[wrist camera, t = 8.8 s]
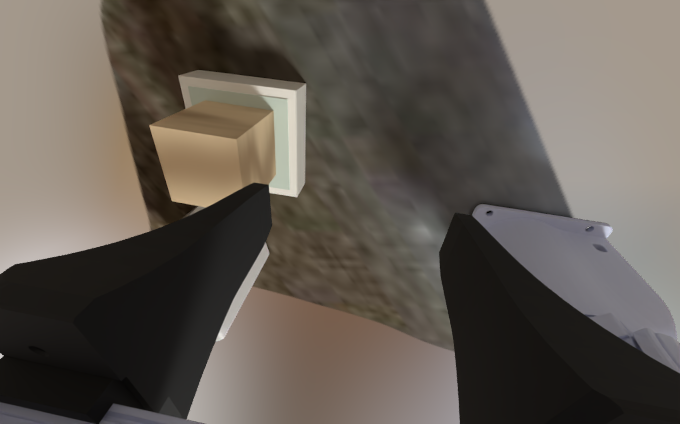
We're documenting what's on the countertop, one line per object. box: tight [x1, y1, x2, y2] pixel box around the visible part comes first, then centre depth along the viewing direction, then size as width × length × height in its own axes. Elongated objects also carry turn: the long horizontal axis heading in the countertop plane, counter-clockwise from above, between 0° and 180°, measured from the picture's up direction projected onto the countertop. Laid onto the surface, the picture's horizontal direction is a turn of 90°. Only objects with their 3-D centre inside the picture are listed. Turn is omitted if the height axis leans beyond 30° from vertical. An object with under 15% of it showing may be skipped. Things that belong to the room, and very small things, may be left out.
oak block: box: [149, 100, 276, 207], centre depth 17 cm, size 4×4×5 cm
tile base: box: [178, 70, 306, 197], centre depth 20 cm, size 8×8×2 cm
